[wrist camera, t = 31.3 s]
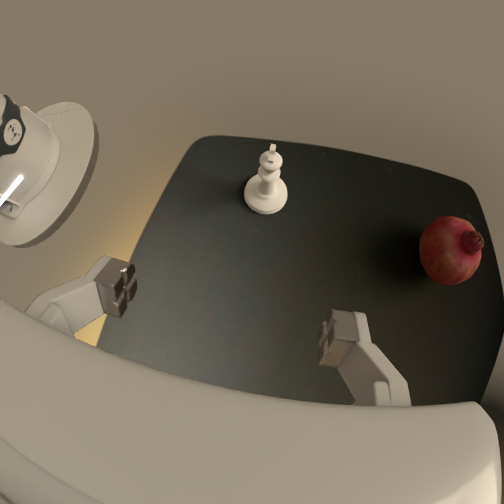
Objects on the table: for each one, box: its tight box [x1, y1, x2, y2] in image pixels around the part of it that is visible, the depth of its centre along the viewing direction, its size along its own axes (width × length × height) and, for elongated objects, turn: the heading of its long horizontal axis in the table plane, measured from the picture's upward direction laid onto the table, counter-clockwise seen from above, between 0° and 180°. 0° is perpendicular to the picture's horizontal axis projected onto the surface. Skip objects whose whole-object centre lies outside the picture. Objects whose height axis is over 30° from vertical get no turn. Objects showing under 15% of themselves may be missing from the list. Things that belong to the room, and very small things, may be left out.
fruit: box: [419, 216, 484, 286], centre depth 26 cm, size 8×8×10 cm
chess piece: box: [244, 144, 287, 214], centre depth 27 cm, size 5×5×10 cm
